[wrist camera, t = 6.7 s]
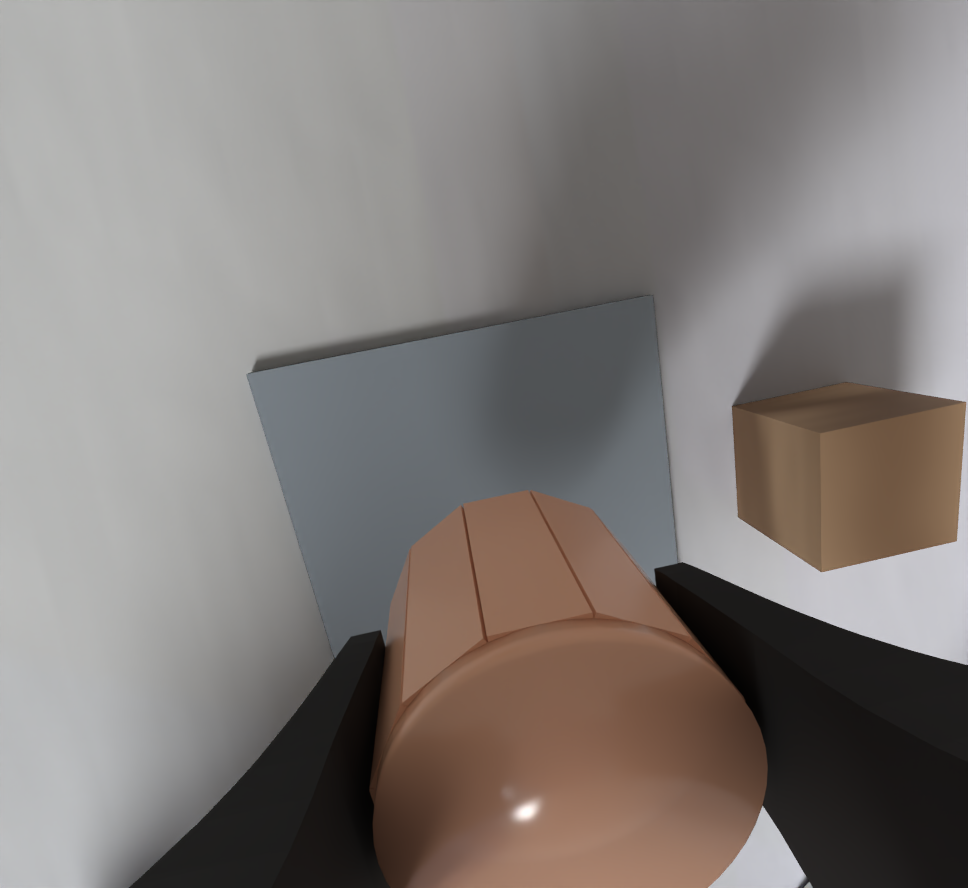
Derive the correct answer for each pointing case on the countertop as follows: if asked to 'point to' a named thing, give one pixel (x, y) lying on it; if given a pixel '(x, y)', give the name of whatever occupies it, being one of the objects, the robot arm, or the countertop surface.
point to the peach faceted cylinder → (552, 715)
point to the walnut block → (850, 472)
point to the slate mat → (466, 443)
